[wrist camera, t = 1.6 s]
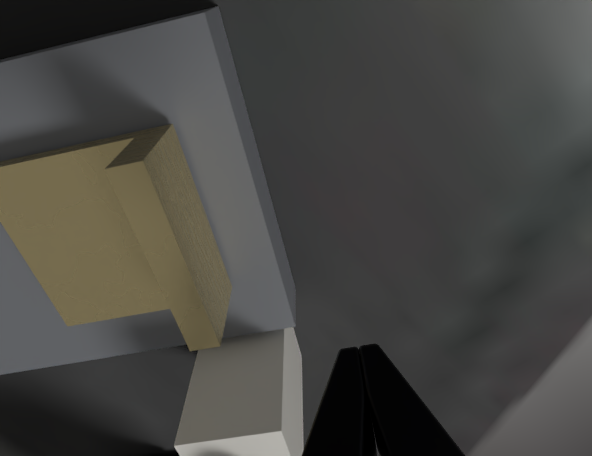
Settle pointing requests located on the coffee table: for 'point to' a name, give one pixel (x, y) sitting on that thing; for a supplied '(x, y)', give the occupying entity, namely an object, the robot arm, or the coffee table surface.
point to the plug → (245, 398)
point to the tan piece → (118, 232)
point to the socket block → (198, 153)
